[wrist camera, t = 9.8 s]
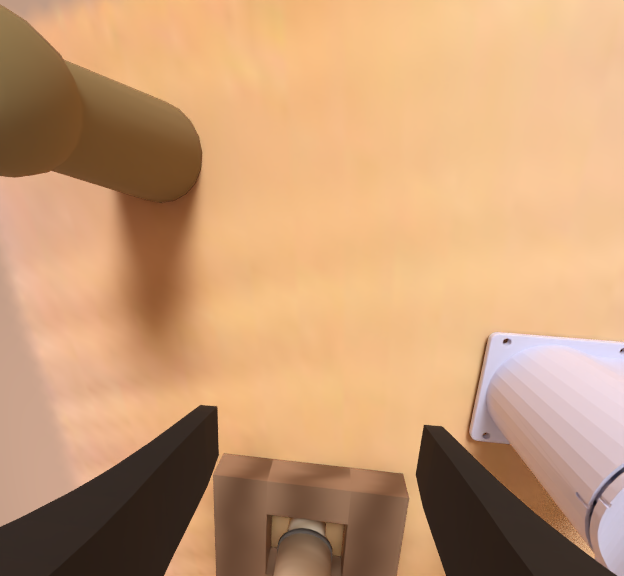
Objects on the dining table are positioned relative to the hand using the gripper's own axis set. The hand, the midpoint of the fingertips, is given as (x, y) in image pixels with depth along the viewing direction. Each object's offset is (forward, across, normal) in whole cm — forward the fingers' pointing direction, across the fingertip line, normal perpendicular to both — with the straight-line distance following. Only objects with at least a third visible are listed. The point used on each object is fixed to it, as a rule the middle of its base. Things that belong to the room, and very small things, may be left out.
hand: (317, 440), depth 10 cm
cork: (+11, +11, -11) cm, 19 cm away
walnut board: (+10, 0, +17) cm, 20 cm away
